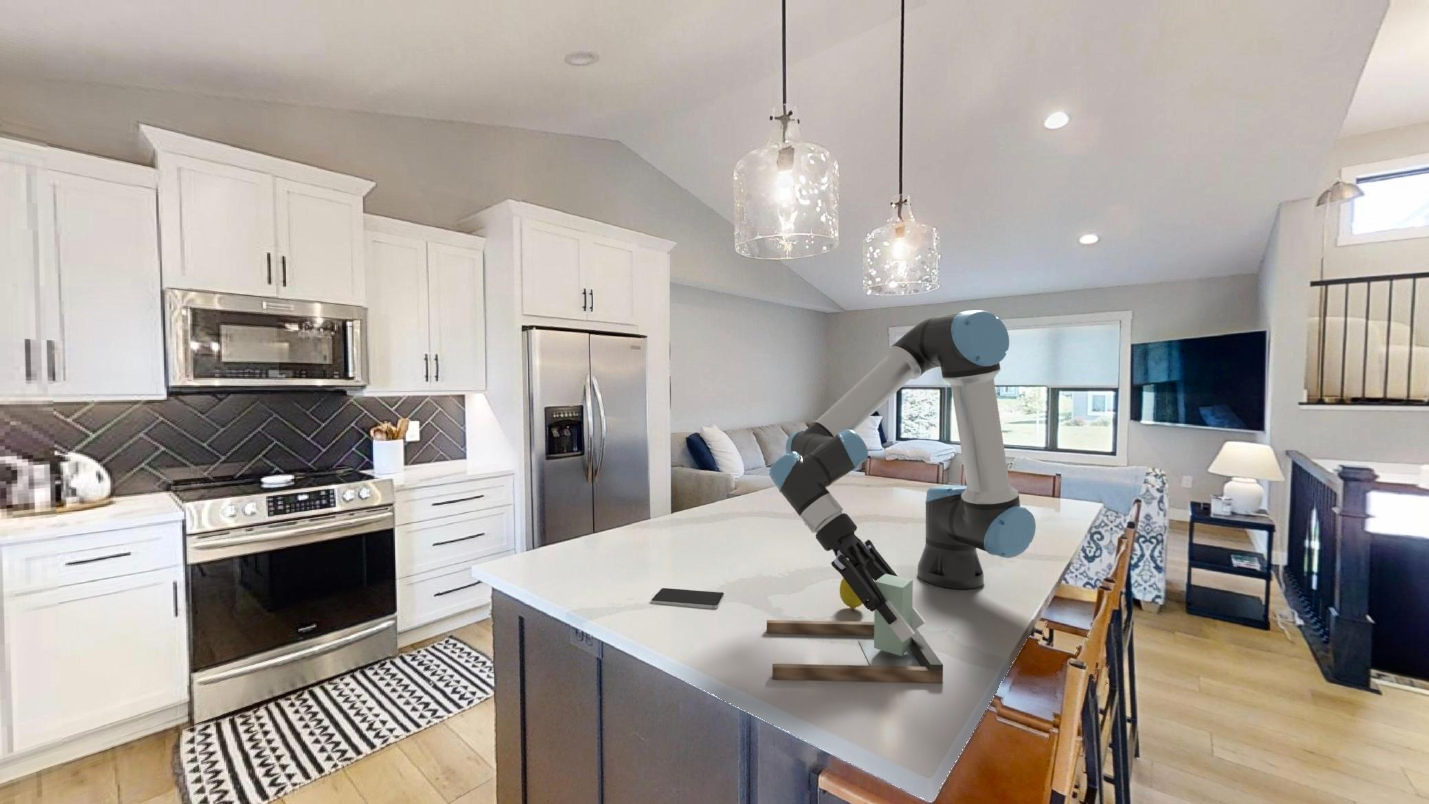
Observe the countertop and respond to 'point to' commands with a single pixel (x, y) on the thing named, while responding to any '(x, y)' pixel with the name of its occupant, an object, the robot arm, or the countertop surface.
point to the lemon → (849, 595)
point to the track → (883, 665)
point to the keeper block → (901, 598)
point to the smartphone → (688, 598)
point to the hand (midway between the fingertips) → (914, 631)
